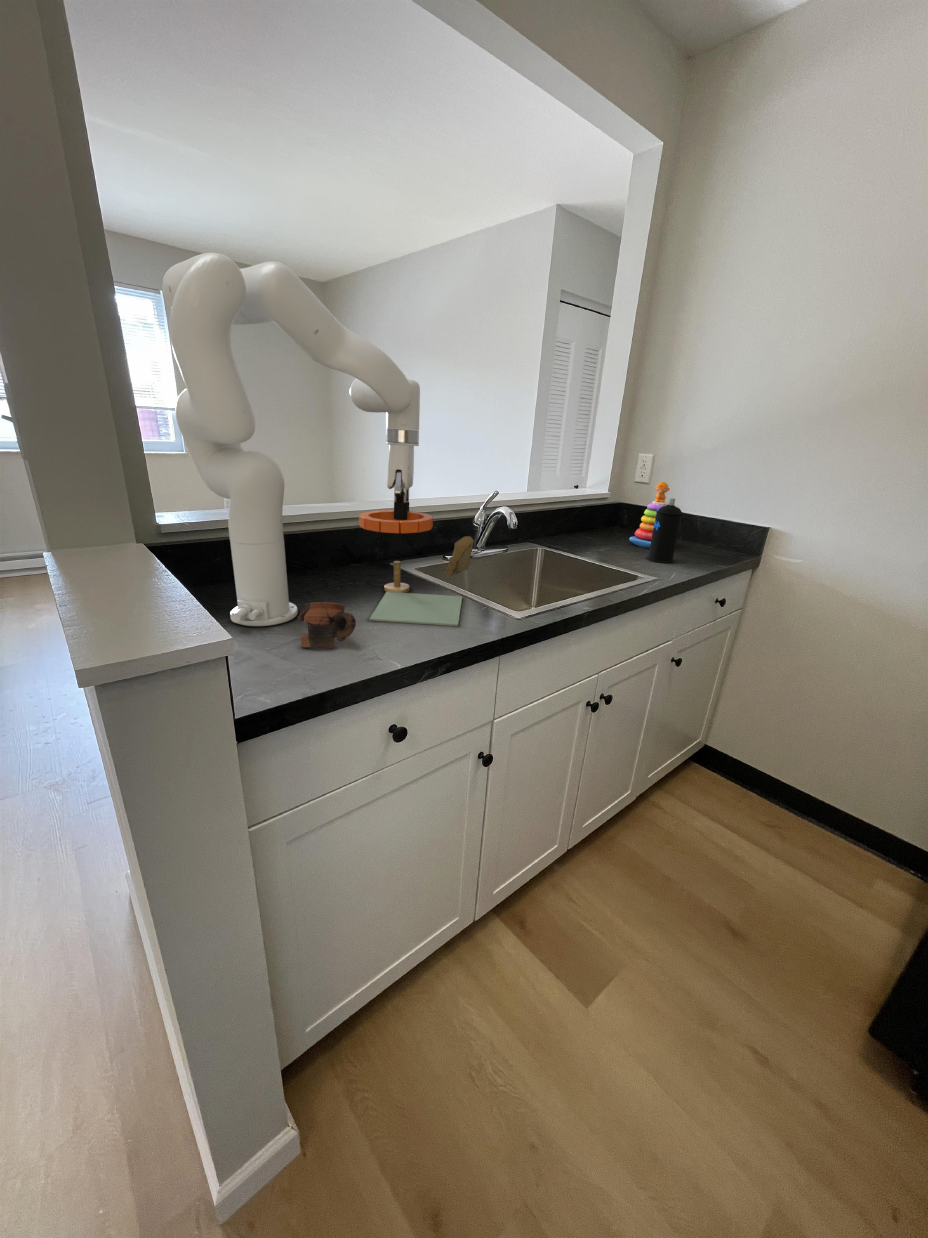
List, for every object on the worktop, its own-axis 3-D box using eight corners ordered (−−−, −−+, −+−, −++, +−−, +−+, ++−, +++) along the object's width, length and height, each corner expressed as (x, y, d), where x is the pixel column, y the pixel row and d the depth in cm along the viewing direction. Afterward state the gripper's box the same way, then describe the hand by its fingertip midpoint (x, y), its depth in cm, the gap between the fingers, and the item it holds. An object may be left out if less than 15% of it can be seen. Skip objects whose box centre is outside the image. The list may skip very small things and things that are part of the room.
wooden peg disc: (407, 594, 117) (407, 565, 114) (382, 592, 117) (382, 564, 115) (411, 587, 122) (411, 559, 120) (387, 585, 123) (387, 557, 120)
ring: (427, 535, 106) (428, 523, 105) (352, 530, 107) (351, 519, 106) (435, 522, 122) (435, 512, 121) (369, 518, 122) (368, 508, 121)
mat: (458, 626, 100) (458, 624, 100) (369, 620, 100) (369, 618, 100) (462, 597, 117) (462, 596, 116) (386, 593, 117) (386, 591, 117)
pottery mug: (284, 649, 87) (286, 602, 88) (320, 653, 95) (321, 611, 97) (341, 645, 82) (342, 596, 84) (373, 650, 91) (373, 606, 92)
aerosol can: (675, 560, 165) (688, 498, 158) (670, 564, 158) (683, 501, 151) (650, 555, 169) (661, 495, 162) (644, 560, 162) (655, 497, 155)
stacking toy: (675, 546, 185) (688, 482, 177) (661, 551, 176) (674, 483, 168) (641, 540, 194) (652, 478, 185) (626, 544, 185) (637, 479, 176)
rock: (455, 571, 129) (484, 561, 135) (441, 542, 130) (471, 533, 135) (438, 585, 139) (466, 576, 144) (426, 558, 139) (454, 550, 145)
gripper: (392, 437, 122) (392, 512, 128) (379, 437, 107) (379, 523, 113) (423, 439, 121) (420, 514, 128) (413, 439, 107) (412, 525, 113)
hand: (401, 518), depth 121 cm, fingers closed on ring, 2 cm apart
